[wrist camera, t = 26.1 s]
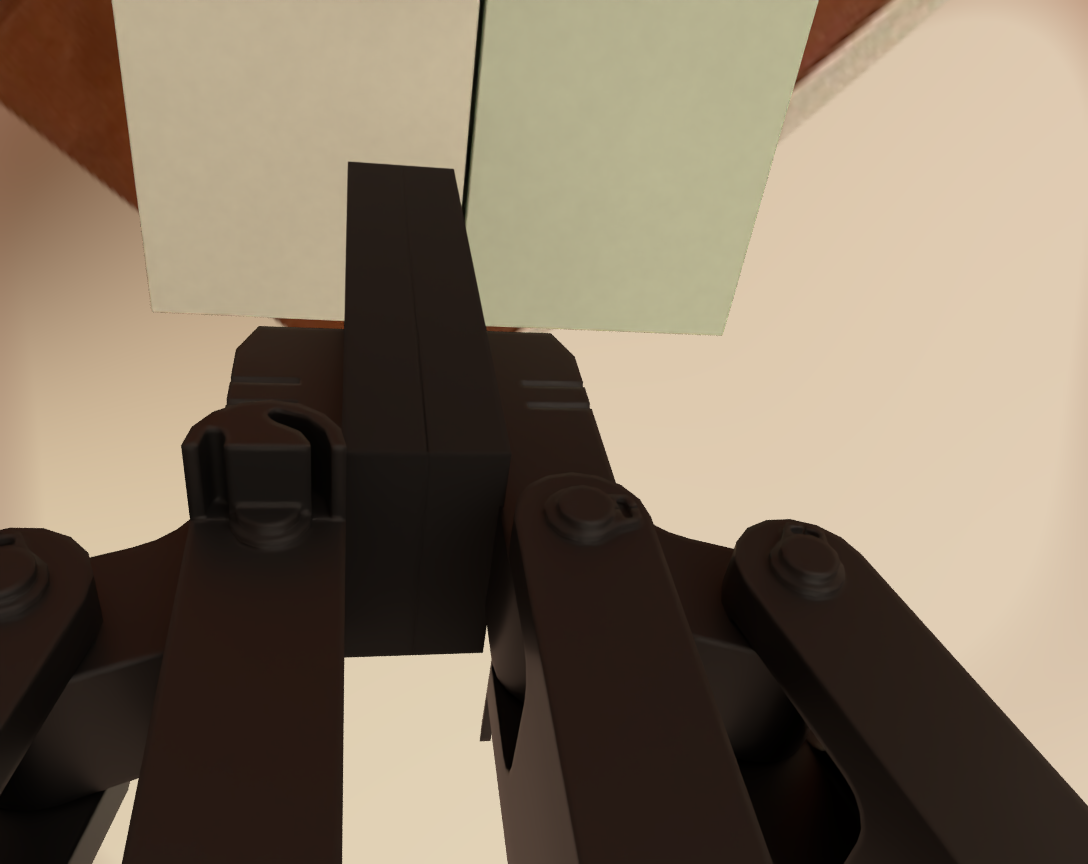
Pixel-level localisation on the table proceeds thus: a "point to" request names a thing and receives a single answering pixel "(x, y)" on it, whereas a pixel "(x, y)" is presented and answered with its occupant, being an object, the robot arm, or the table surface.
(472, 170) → the box
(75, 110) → the table surface
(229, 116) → the flap
